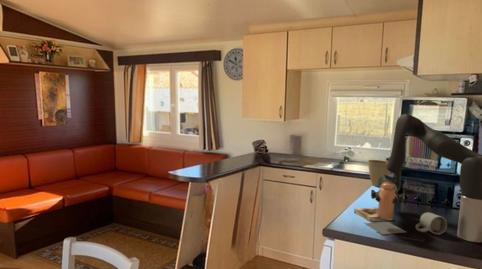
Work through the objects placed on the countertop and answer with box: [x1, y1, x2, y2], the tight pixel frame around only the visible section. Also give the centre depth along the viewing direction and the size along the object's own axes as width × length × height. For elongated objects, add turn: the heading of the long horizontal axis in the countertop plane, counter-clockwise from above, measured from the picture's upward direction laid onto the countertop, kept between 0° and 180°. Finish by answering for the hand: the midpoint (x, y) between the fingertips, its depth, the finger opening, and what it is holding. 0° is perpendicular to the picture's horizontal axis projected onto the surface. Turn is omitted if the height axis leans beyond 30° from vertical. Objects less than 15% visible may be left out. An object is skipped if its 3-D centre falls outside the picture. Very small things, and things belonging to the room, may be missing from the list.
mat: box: [363, 221, 407, 236], centre depth 144 cm, size 12×12×1 cm
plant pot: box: [367, 159, 391, 188], centre depth 220 cm, size 15×15×16 cm
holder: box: [353, 207, 393, 223], centre depth 158 cm, size 12×12×2 cm
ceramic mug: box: [415, 212, 448, 235], centre depth 143 cm, size 11×8×8 cm
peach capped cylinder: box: [377, 183, 395, 220], centre depth 142 cm, size 7×6×14 cm
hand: (386, 200), depth 141 cm, fingers closed on peach capped cylinder, 6 cm apart
